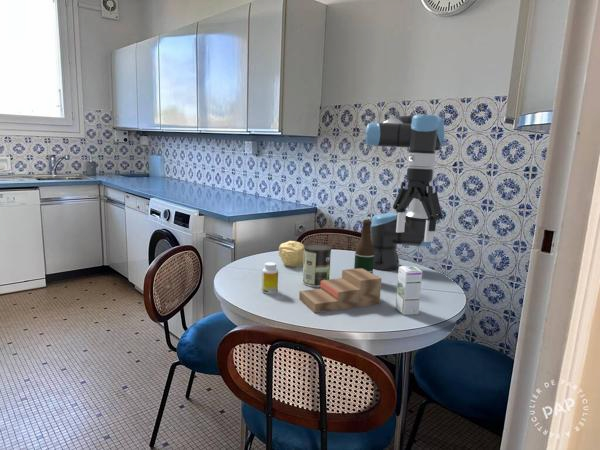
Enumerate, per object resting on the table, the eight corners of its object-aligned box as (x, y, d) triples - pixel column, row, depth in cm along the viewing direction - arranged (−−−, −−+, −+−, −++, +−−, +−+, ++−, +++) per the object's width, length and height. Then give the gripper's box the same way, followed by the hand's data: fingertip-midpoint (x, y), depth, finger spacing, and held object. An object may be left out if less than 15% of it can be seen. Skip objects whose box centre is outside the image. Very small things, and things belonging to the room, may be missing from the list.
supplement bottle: (280, 293, 145) (281, 265, 143) (265, 295, 142) (265, 266, 140) (273, 288, 150) (274, 260, 148) (259, 290, 147) (260, 262, 145)
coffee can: (330, 280, 162) (333, 244, 159) (327, 288, 152) (329, 251, 149) (304, 277, 164) (306, 242, 161) (299, 285, 154) (301, 248, 151)
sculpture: (274, 265, 178) (275, 241, 175) (289, 259, 188) (290, 236, 186) (297, 270, 172) (298, 245, 170) (311, 264, 182) (313, 240, 180)
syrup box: (419, 314, 132) (423, 270, 129) (402, 315, 130) (406, 271, 128) (410, 307, 137) (415, 265, 134) (394, 308, 136) (398, 265, 133)
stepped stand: (360, 292, 150) (361, 268, 148) (379, 304, 139) (381, 278, 137) (299, 299, 140) (300, 273, 138) (314, 313, 129) (316, 285, 128)
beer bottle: (367, 285, 158) (372, 223, 153) (349, 281, 162) (353, 220, 157) (375, 280, 164) (380, 220, 160) (357, 276, 168) (361, 217, 164)
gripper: (385, 165, 135) (380, 229, 139) (439, 170, 112) (431, 246, 116) (404, 165, 138) (398, 228, 142) (460, 171, 116) (452, 245, 119)
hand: (413, 236), depth 129 cm, fingers open, 13 cm apart
